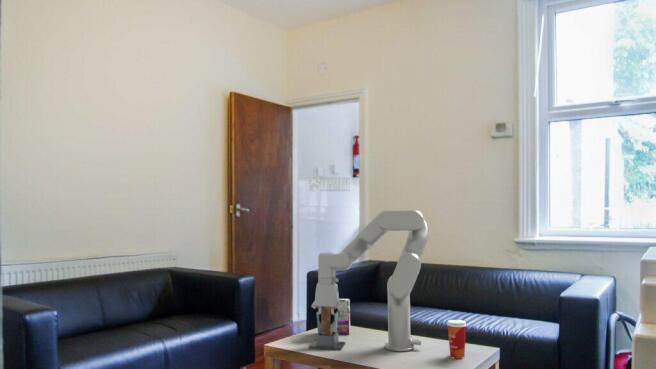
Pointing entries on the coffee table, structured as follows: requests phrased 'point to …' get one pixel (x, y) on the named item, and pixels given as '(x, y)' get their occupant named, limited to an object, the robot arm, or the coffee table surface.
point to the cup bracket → (327, 342)
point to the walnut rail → (326, 321)
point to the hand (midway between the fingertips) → (326, 322)
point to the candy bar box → (344, 317)
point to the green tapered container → (334, 325)
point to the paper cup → (457, 338)
